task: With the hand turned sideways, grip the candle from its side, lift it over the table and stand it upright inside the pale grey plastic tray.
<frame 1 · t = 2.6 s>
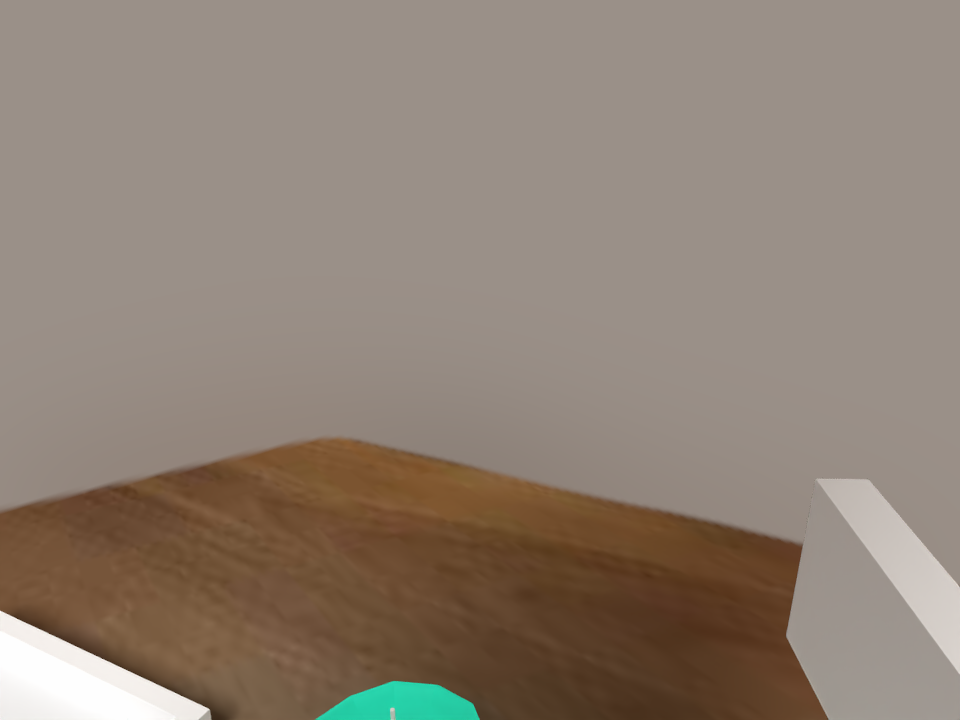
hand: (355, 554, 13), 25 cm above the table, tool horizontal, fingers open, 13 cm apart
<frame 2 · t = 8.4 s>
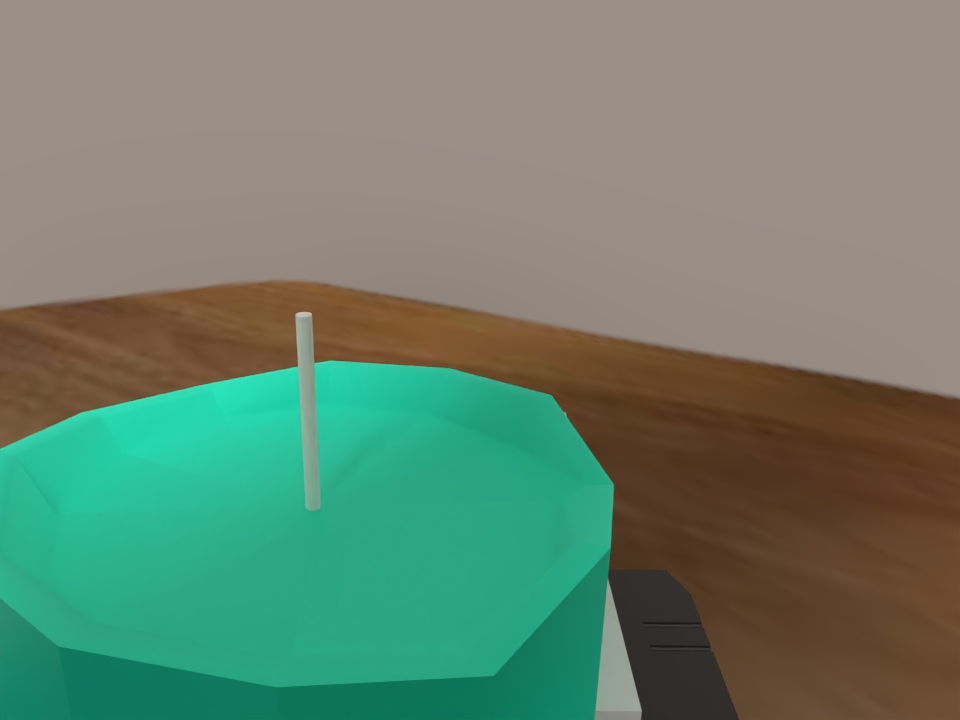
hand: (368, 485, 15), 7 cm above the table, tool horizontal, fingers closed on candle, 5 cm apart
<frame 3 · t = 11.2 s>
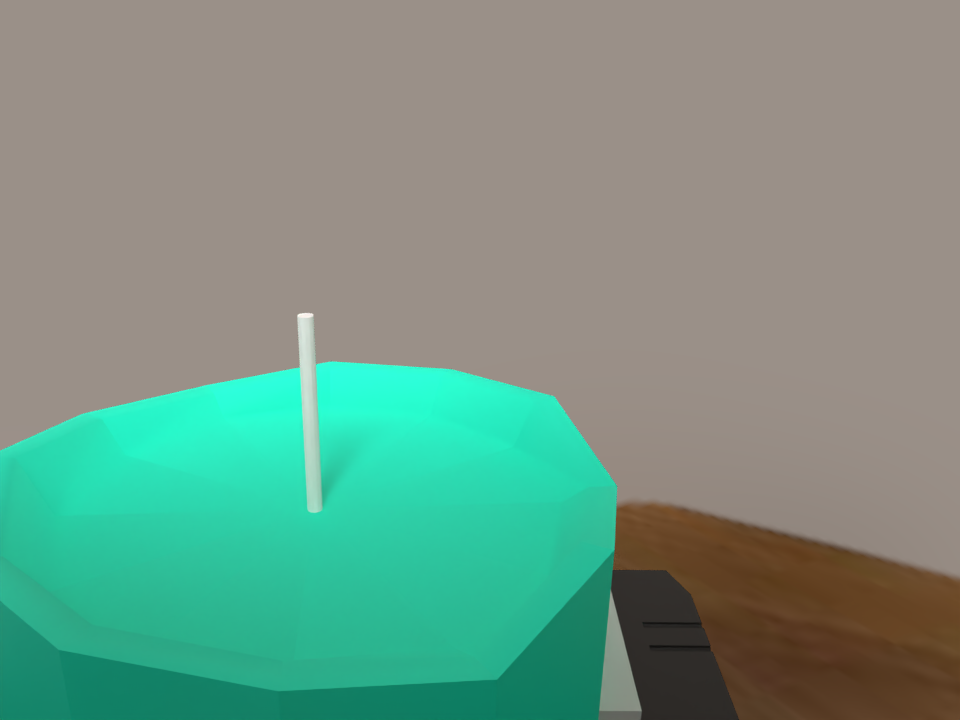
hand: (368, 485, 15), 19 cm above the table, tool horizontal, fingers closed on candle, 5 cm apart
when the fingers open (10 cm above the table, at t = 14.0 s): candle drops 1 cm, point 1 cm above the table.
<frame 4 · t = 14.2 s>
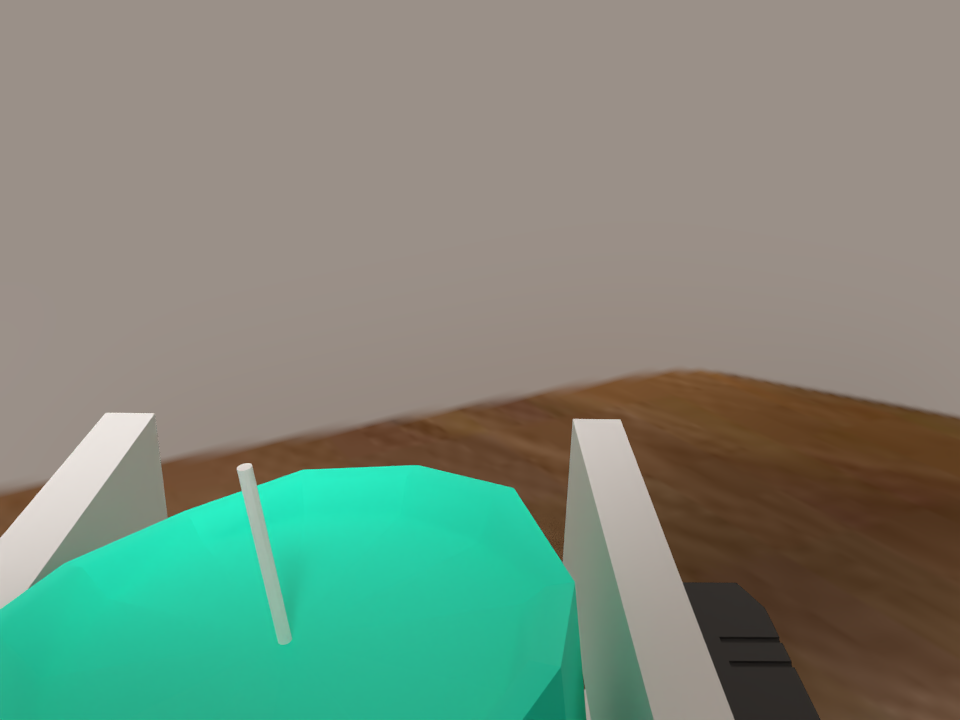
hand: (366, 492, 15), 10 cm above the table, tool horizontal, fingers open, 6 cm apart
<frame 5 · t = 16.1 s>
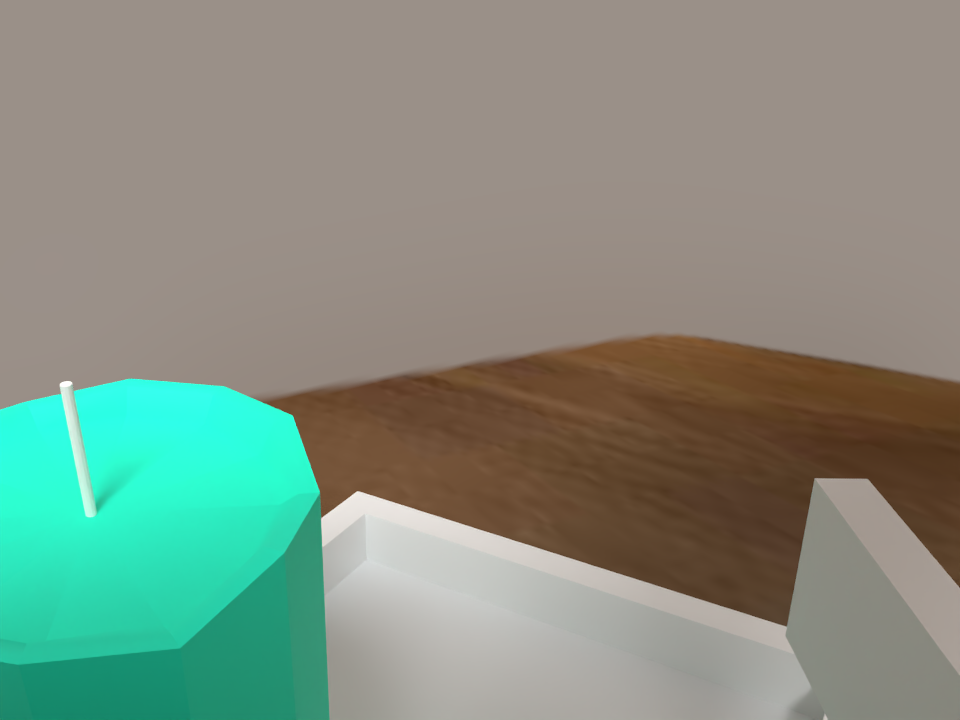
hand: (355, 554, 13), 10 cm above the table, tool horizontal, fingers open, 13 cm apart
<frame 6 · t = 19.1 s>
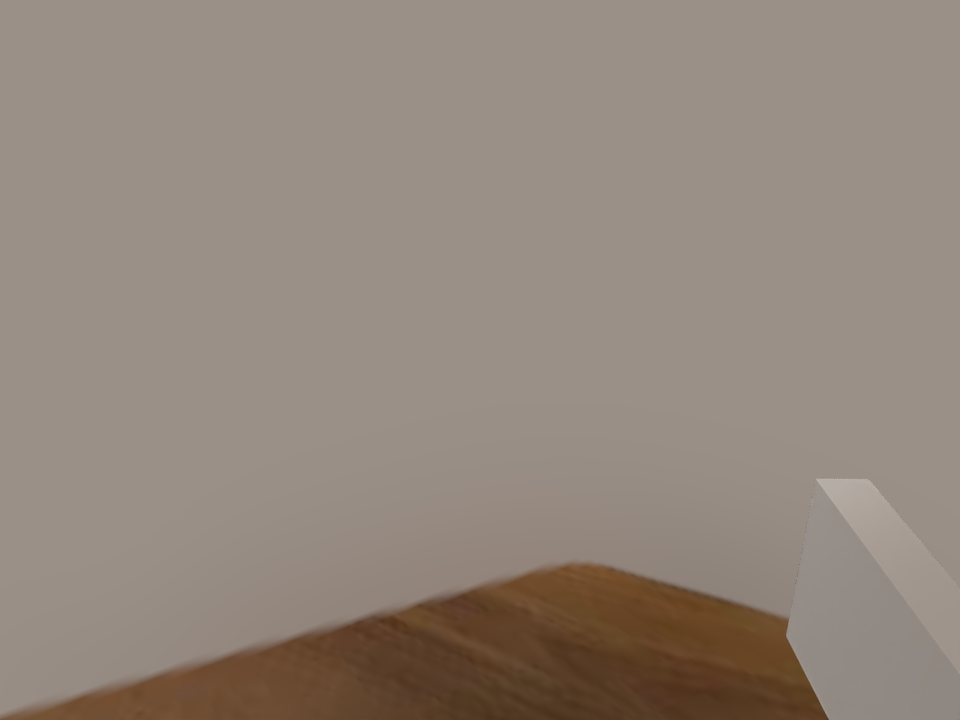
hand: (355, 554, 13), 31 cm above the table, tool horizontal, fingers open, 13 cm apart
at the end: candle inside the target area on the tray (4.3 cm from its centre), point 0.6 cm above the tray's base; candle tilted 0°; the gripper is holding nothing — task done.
